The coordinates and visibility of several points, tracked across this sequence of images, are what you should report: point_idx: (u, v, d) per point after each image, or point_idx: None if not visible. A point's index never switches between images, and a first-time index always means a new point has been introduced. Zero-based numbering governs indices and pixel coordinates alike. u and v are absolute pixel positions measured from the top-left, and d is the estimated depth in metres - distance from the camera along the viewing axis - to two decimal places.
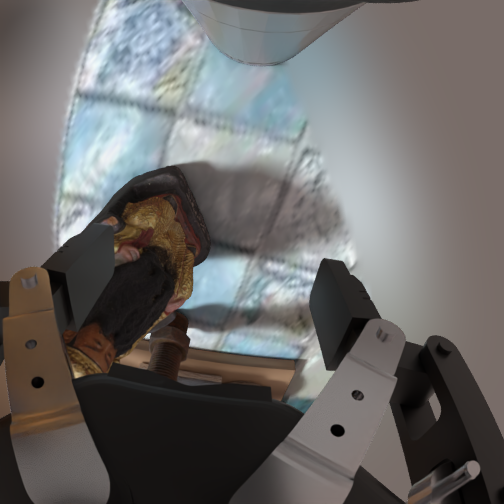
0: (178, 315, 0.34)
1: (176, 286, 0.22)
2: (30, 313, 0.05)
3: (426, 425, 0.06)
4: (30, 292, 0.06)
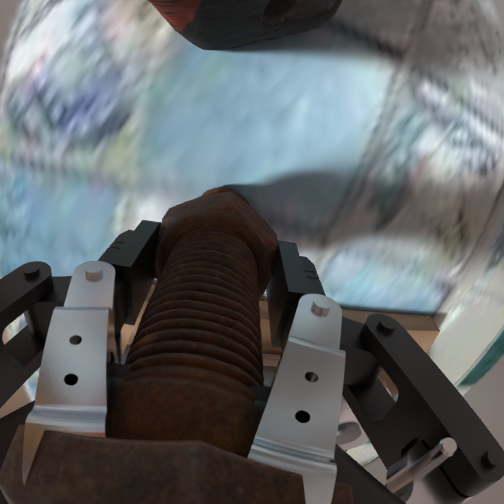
0: (234, 194, 0.14)
1: None
2: (84, 308, 0.05)
3: (383, 404, 0.07)
4: (91, 286, 0.07)
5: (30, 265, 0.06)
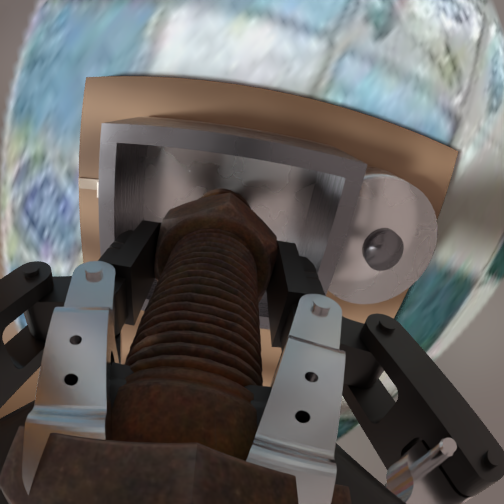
0: (234, 195, 0.14)
1: None
2: (84, 308, 0.05)
3: (383, 404, 0.07)
4: (91, 286, 0.07)
5: (30, 265, 0.06)
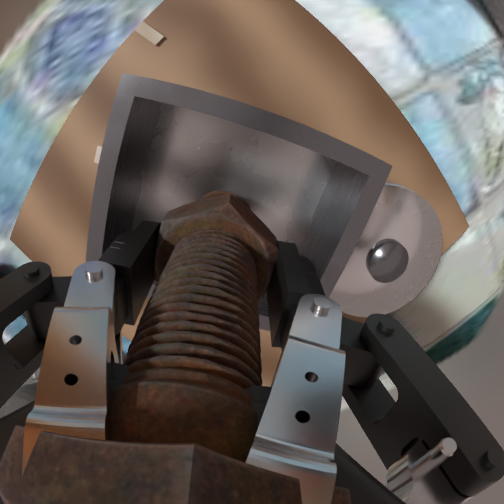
0: (234, 196, 0.14)
1: None
2: (84, 309, 0.05)
3: (383, 404, 0.07)
4: (92, 286, 0.07)
5: (30, 265, 0.06)
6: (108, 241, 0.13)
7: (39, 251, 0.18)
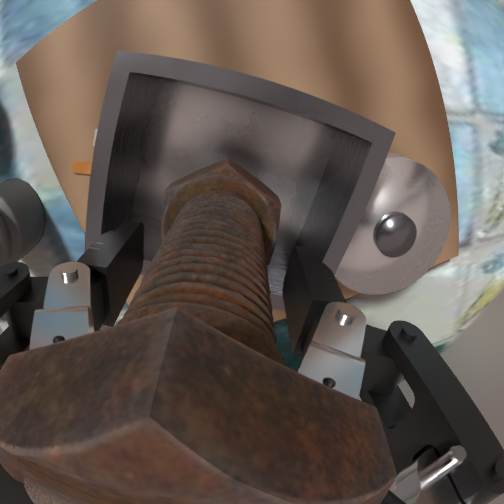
0: None
1: None
2: (63, 309, 0.05)
3: (400, 411, 0.07)
4: (68, 286, 0.06)
5: (8, 266, 0.06)
6: (107, 221, 0.12)
7: (38, 84, 0.13)
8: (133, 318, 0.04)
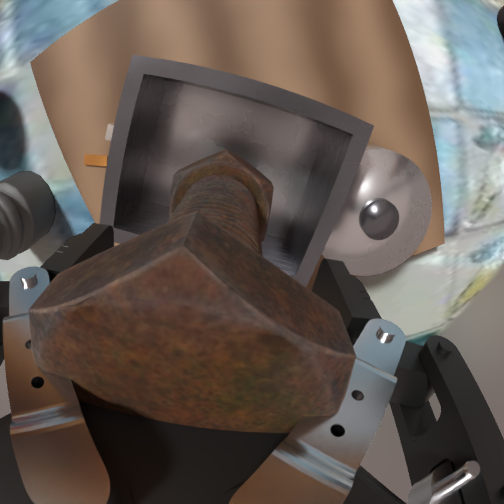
0: None
1: None
2: None
3: (426, 425, 0.06)
4: (30, 292, 0.06)
5: None
6: (120, 205, 0.14)
7: (52, 83, 0.15)
8: None
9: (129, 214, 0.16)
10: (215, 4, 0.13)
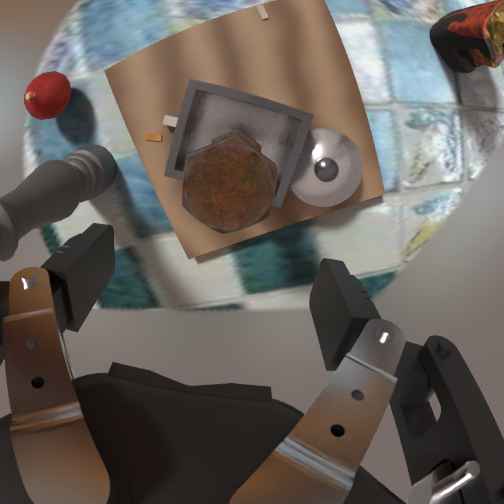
0: None
1: None
2: (30, 313, 0.05)
3: (426, 425, 0.06)
4: (30, 291, 0.06)
5: None
6: (178, 158, 0.26)
7: (123, 86, 0.27)
8: None
9: (180, 166, 0.27)
10: (229, 44, 0.25)
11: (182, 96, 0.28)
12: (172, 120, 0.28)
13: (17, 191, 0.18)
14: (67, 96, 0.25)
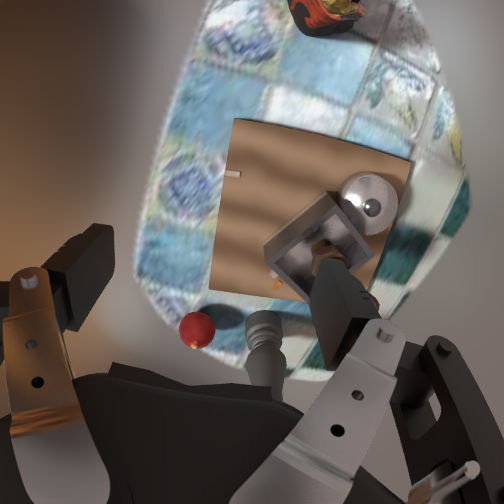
0: (316, 243, 0.40)
1: None
2: (30, 313, 0.05)
3: (426, 425, 0.06)
4: (30, 291, 0.06)
5: None
6: (305, 291, 0.40)
7: (229, 284, 0.45)
8: None
9: (309, 289, 0.41)
10: (246, 209, 0.40)
11: (263, 256, 0.43)
12: None
13: None
14: (209, 319, 0.46)
